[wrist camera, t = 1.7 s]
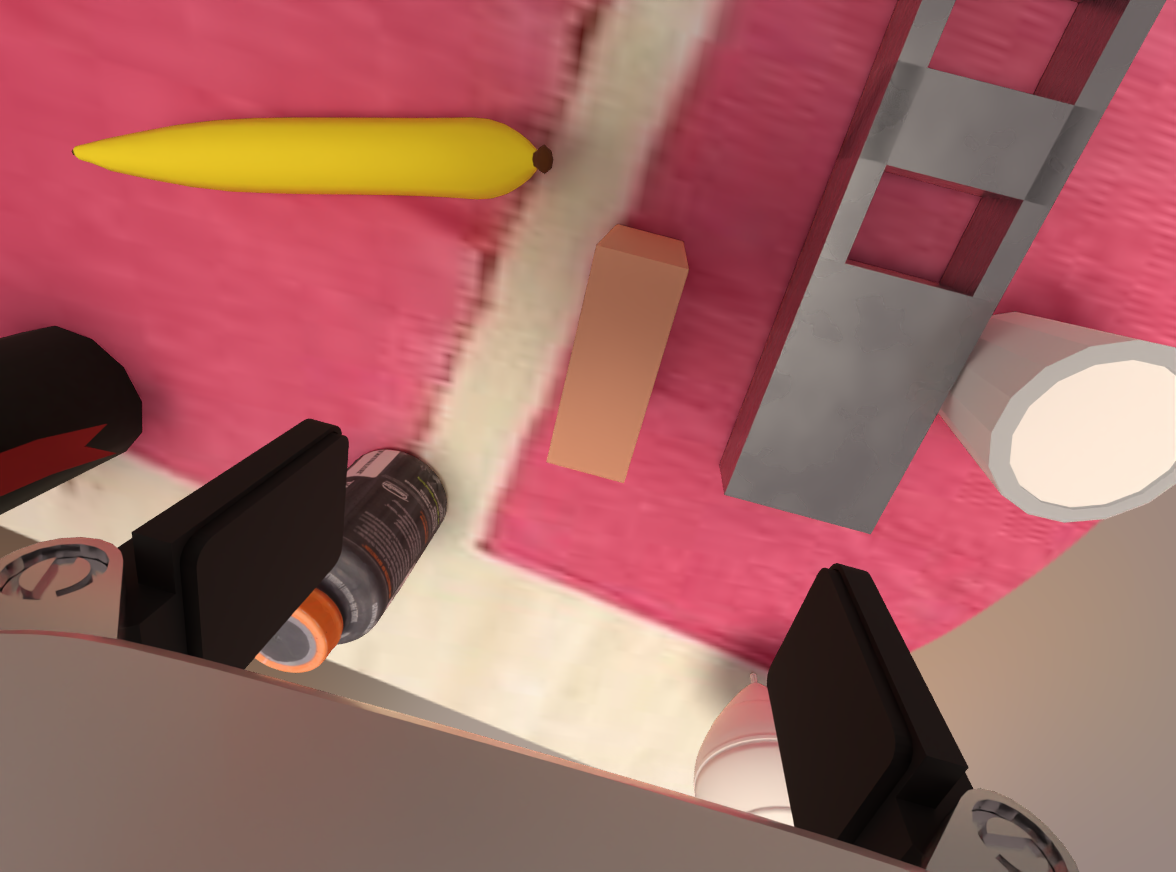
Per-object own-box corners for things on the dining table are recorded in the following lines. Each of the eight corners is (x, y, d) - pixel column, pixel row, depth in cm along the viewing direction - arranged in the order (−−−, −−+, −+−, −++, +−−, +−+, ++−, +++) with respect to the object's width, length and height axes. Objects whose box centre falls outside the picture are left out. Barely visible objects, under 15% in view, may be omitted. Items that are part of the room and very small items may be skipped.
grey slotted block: (927, -75, 20) (967, -114, 17) (1124, -25, 20) (1197, -57, 17) (719, 464, 29) (724, 494, 27) (852, 500, 29) (870, 534, 27)
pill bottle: (349, 436, 32) (196, 562, 21) (453, 459, 31) (349, 598, 21) (349, 524, 34) (213, 675, 24) (445, 546, 34) (349, 708, 24)
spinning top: (847, 673, 34) (929, 907, 23) (755, 736, 37) (790, 968, 26) (750, 603, 33) (789, 816, 22) (663, 674, 36) (661, 890, 25)
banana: (161, 119, 26) (18, 104, 20) (579, 122, 24) (550, 107, 18) (180, 189, 27) (49, 194, 21) (578, 198, 25) (551, 206, 19)
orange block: (617, 223, 25) (596, 244, 18) (683, 241, 25) (688, 269, 18) (577, 389, 29) (546, 462, 21) (635, 404, 29) (623, 482, 21)
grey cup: (898, 439, 28) (966, 518, 21) (933, 295, 25) (1024, 337, 19) (1052, 446, 27) (1171, 531, 21) (1108, 299, 24) (1264, 344, 18)
